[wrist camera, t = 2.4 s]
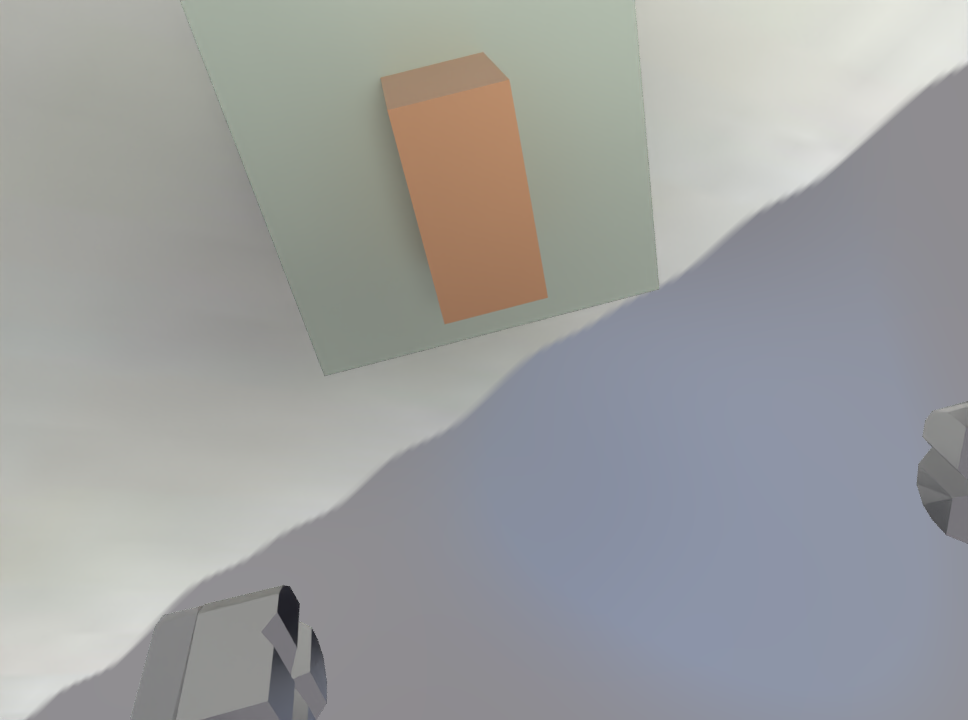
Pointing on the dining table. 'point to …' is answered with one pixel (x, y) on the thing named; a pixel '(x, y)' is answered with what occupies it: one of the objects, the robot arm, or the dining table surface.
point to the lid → (438, 160)
